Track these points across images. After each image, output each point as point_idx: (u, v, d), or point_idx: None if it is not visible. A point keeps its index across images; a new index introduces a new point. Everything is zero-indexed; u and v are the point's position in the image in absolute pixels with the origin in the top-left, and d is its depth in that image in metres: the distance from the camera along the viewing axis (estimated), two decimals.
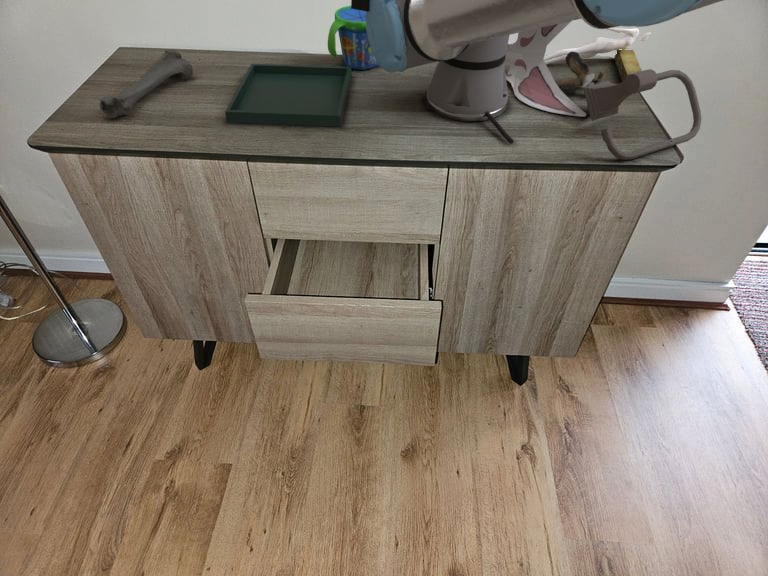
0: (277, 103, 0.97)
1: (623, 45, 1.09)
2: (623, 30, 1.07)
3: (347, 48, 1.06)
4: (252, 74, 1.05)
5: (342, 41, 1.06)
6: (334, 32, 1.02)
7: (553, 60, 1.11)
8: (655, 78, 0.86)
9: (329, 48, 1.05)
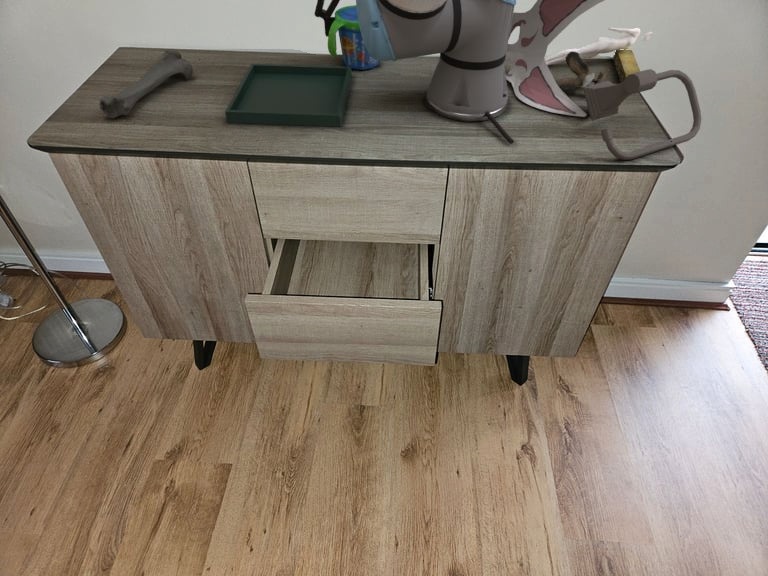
0: (277, 103, 0.97)
1: (625, 45, 1.09)
2: (625, 30, 1.07)
3: (347, 48, 1.06)
4: (252, 74, 1.05)
5: (342, 41, 1.06)
6: (334, 32, 1.02)
7: (555, 61, 1.11)
8: (655, 78, 0.86)
9: (329, 48, 1.05)
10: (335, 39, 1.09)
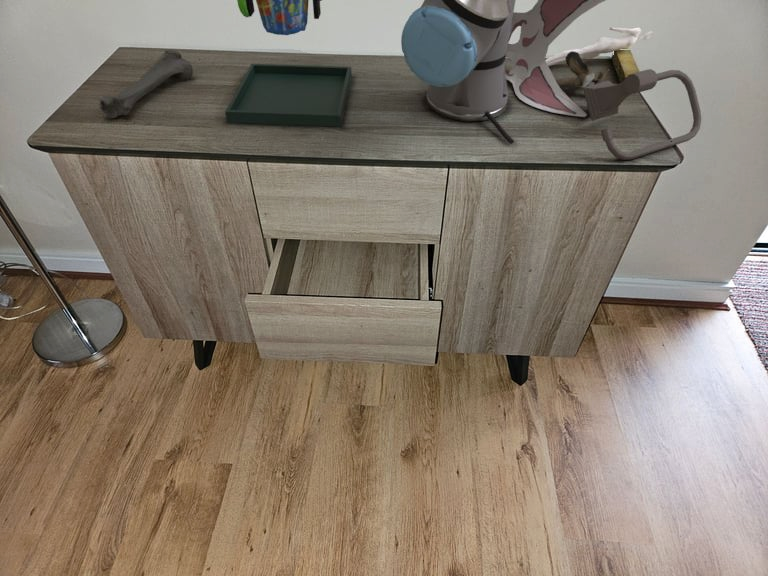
0: (277, 103, 0.97)
1: (625, 45, 1.09)
2: (626, 30, 1.07)
3: (263, 7, 0.85)
4: (252, 74, 1.05)
5: None
6: None
7: (557, 61, 1.10)
8: (655, 78, 0.86)
9: (240, 6, 0.84)
10: None
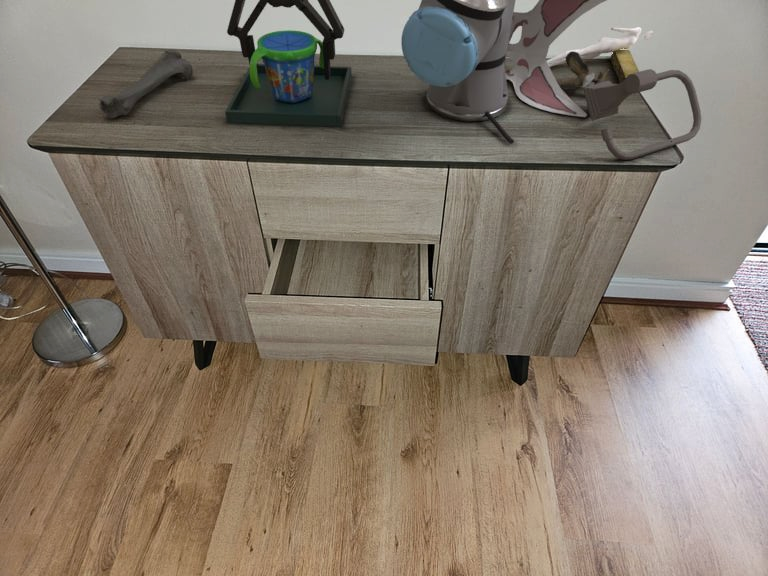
0: (277, 103, 0.97)
1: (626, 44, 1.09)
2: (627, 30, 1.07)
3: (273, 79, 0.94)
4: None
5: (267, 71, 0.94)
6: (255, 63, 0.90)
7: (558, 62, 1.10)
8: (655, 78, 0.86)
9: (252, 80, 0.93)
10: None
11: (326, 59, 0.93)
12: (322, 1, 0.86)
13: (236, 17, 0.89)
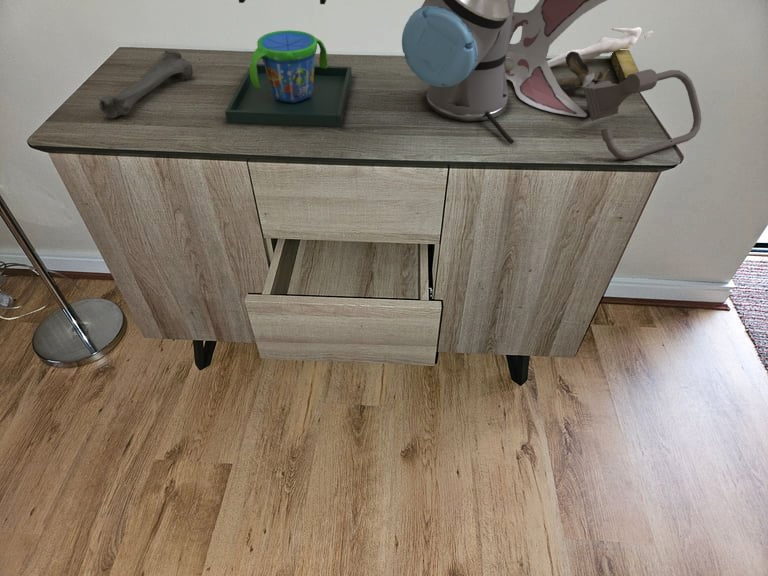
0: (277, 103, 0.97)
1: (627, 44, 1.09)
2: (627, 30, 1.07)
3: (273, 79, 0.94)
4: None
5: (267, 71, 0.94)
6: (255, 63, 0.90)
7: (559, 62, 1.10)
8: (655, 78, 0.86)
9: (252, 80, 0.93)
10: None
11: None
12: None
13: None
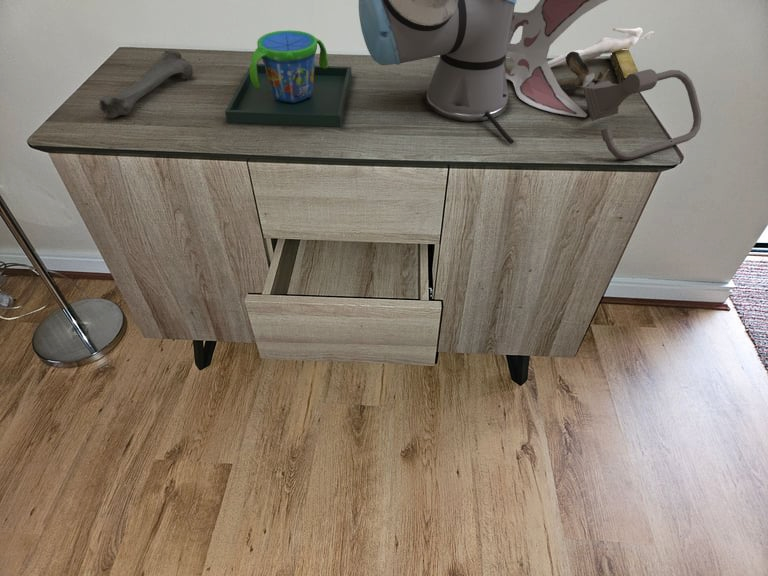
0: (277, 103, 0.97)
1: (627, 45, 1.09)
2: (628, 30, 1.07)
3: (273, 79, 0.94)
4: None
5: (267, 71, 0.94)
6: (255, 63, 0.90)
7: (560, 62, 1.10)
8: (655, 78, 0.86)
9: (252, 80, 0.93)
10: None
11: None
12: None
13: None
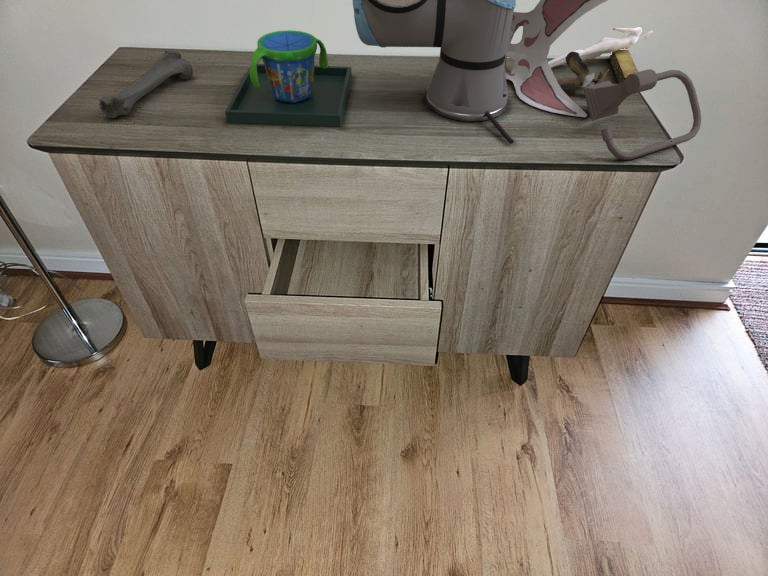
0: (277, 103, 0.97)
1: (627, 44, 1.10)
2: (628, 30, 1.07)
3: (273, 79, 0.94)
4: None
5: (267, 71, 0.94)
6: (255, 63, 0.90)
7: (560, 62, 1.10)
8: (655, 78, 0.86)
9: (252, 80, 0.93)
10: None
11: None
12: None
13: None
